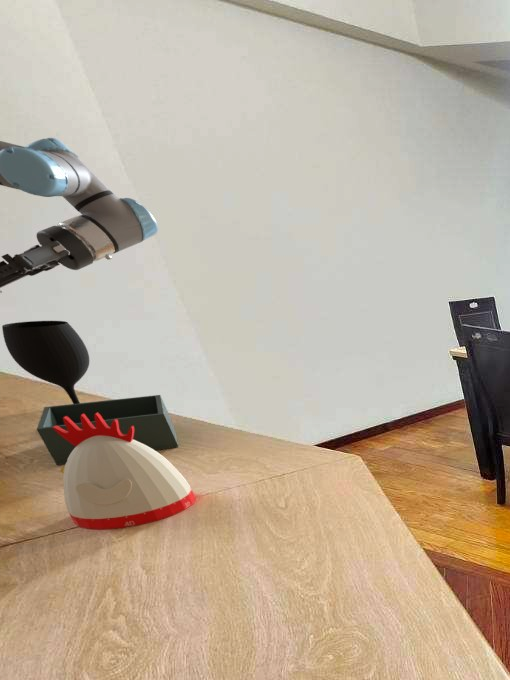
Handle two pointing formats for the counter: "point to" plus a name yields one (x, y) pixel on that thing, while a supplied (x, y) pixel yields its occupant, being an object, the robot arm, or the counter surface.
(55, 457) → the bin
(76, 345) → the wine glass
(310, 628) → the counter surface
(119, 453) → the kitchen timer
